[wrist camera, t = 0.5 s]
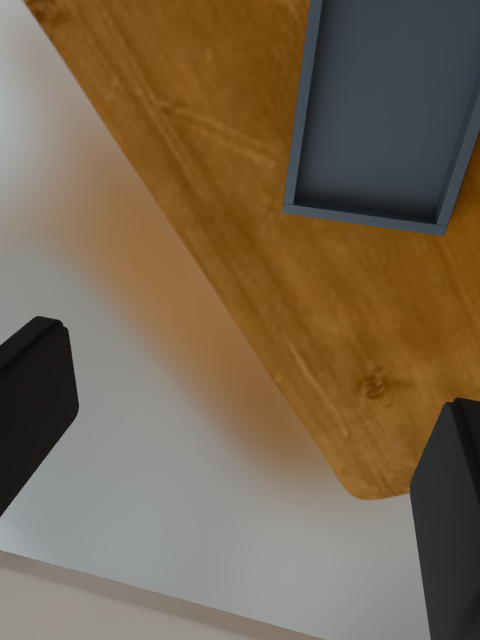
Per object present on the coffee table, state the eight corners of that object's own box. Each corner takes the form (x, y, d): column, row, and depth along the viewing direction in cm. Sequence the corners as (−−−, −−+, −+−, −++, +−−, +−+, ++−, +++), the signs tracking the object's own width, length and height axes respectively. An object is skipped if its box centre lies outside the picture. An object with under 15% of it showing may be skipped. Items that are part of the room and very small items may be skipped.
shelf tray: (322, -63, 29) (319, -73, 27) (528, -51, 27) (543, -61, 25) (285, 204, 38) (282, 213, 36) (438, 225, 36) (444, 236, 34)
